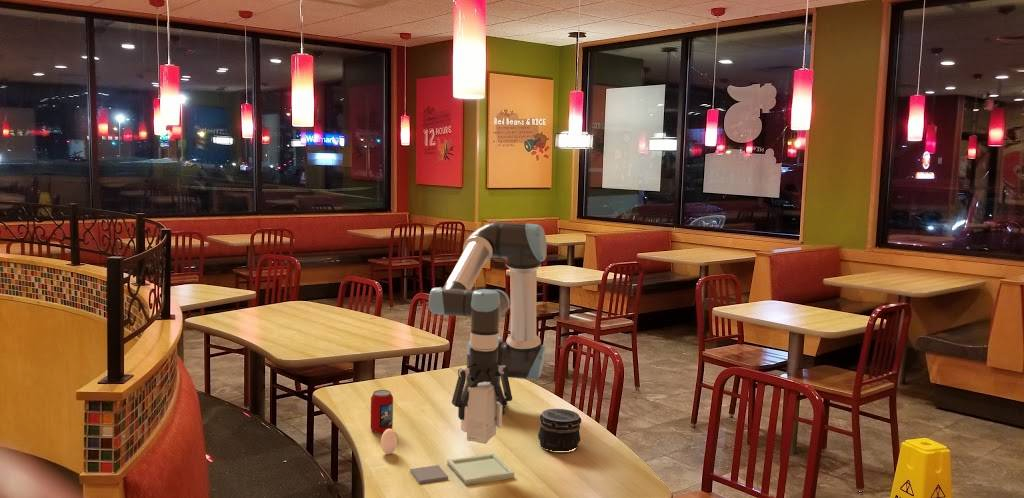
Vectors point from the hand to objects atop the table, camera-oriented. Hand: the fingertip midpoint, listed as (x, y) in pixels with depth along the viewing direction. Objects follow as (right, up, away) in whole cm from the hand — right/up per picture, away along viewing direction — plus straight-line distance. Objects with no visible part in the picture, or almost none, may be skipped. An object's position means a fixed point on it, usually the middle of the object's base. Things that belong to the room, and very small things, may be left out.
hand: (481, 428), depth 215 cm
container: (+22, -11, +22) cm, 33 cm away
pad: (-14, -12, -2) cm, 19 cm away
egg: (-27, -10, +11) cm, 31 cm away
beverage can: (-32, -7, +30) cm, 44 cm away
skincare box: (0, -3, 0) cm, 3 cm away
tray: (0, -12, +2) cm, 12 cm away
